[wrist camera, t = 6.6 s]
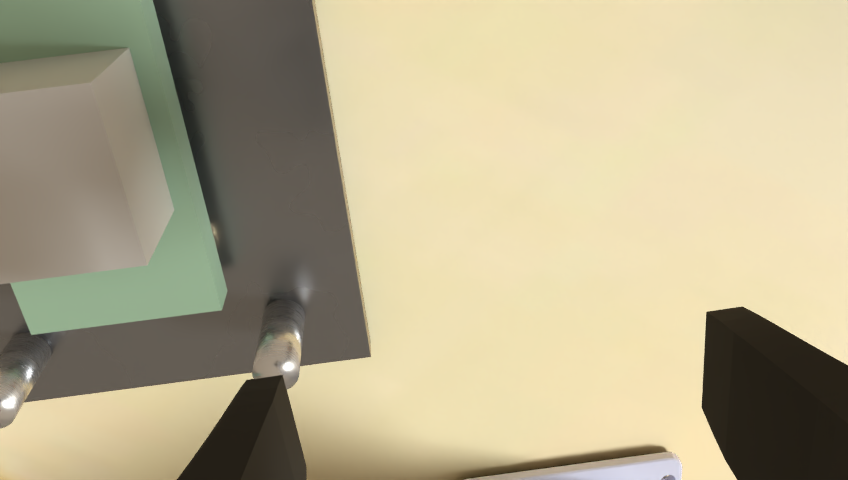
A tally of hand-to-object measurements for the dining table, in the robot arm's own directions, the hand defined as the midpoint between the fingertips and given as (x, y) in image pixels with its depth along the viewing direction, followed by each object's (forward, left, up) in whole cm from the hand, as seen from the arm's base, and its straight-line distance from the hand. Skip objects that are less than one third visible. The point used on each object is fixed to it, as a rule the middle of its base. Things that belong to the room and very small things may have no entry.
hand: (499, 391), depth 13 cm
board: (+3, +9, -8) cm, 12 cm away
